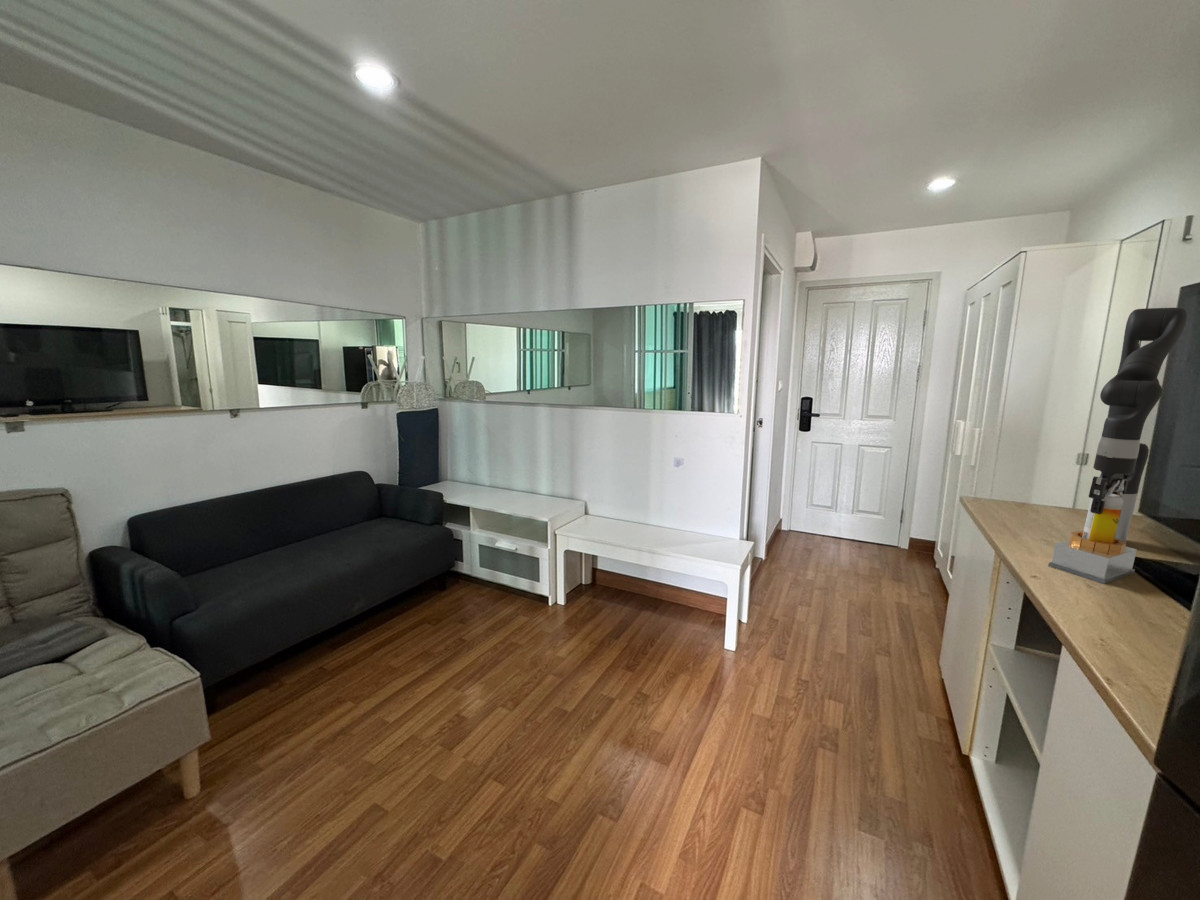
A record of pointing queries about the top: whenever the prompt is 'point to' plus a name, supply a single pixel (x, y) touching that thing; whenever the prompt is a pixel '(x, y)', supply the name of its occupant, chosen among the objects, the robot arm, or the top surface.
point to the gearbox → (1094, 558)
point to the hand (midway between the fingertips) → (1103, 511)
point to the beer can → (1104, 520)
